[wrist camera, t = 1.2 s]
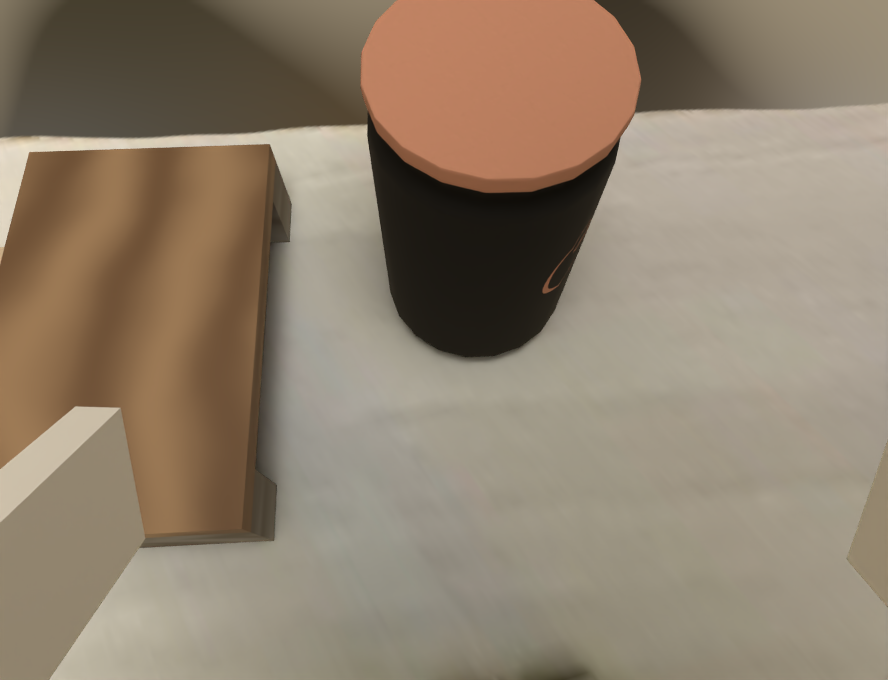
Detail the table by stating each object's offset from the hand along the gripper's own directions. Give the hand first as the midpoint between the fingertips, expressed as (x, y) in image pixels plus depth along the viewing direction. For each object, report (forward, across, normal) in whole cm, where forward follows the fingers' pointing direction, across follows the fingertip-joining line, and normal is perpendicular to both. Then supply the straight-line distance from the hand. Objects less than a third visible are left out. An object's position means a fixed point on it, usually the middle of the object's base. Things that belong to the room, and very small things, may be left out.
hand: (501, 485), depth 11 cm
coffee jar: (+29, +1, -5) cm, 30 cm away
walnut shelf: (+25, -18, -9) cm, 32 cm away
